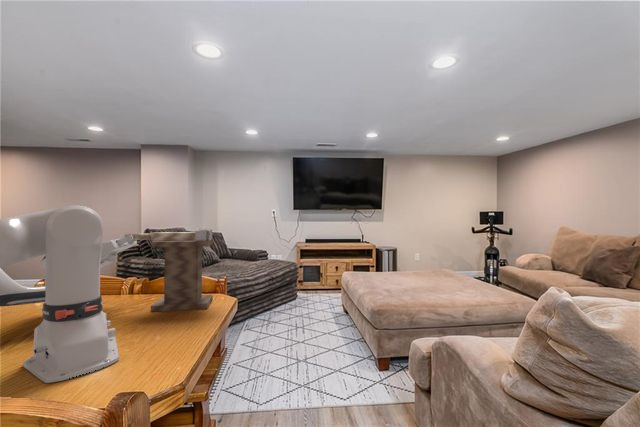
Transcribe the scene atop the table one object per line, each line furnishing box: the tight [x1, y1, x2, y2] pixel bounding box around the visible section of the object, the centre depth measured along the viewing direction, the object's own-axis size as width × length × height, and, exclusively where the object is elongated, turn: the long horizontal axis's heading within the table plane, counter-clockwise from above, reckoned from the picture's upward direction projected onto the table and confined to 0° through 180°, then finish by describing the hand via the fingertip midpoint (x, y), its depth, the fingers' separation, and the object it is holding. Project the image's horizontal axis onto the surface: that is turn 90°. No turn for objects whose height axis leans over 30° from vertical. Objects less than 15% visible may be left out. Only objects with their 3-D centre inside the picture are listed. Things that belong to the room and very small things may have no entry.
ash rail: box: [124, 231, 195, 242], centre depth 116 cm, size 26×4×3 cm, turn 101°
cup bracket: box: [194, 229, 213, 241], centre depth 119 cm, size 5×8×4 cm, turn 11°
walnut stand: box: [150, 238, 214, 312], centre depth 117 cm, size 20×12×26 cm, turn 101°
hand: (136, 235), depth 114 cm, fingers open, 6 cm apart
